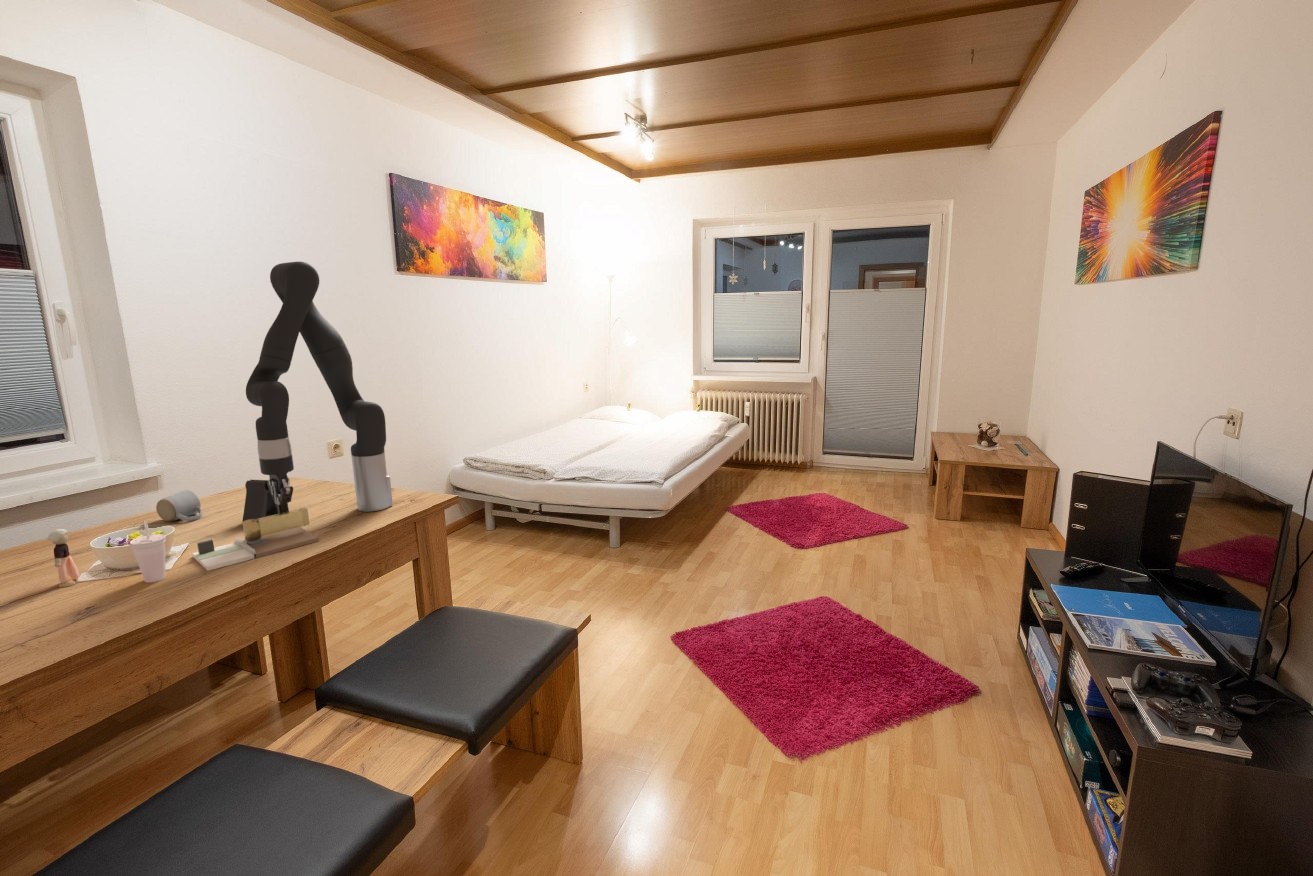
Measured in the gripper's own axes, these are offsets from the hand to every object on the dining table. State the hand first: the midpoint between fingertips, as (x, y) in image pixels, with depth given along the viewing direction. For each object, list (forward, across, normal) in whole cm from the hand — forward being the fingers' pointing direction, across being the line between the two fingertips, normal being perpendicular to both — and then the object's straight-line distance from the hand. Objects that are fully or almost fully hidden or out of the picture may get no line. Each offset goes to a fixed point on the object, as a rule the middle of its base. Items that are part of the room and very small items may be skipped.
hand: (284, 516), depth 164 cm
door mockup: (+5, -6, +9) cm, 12 cm away
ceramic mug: (+5, +39, +15) cm, 42 cm away
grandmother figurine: (+5, +4, +43) cm, 43 cm away
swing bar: (+2, -4, +3) cm, 6 cm away
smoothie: (+5, -8, +30) cm, 31 cm away
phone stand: (+5, +19, 0) cm, 19 cm away
